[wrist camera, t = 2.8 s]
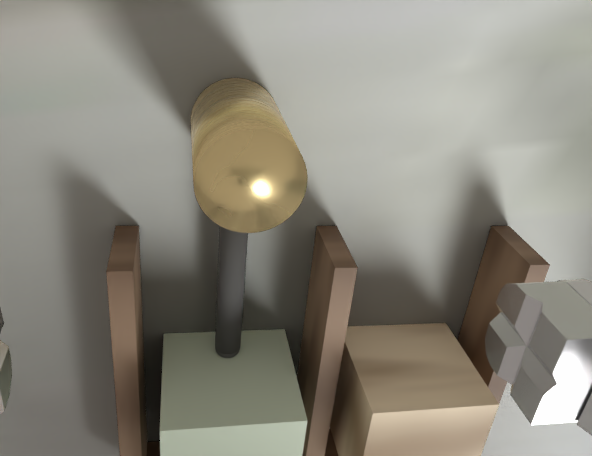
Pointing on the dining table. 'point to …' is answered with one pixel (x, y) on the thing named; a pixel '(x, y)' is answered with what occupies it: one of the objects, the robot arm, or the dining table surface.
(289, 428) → the brass knob joystick
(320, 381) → the walnut shelf
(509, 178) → the dining table surface
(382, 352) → the oak block
